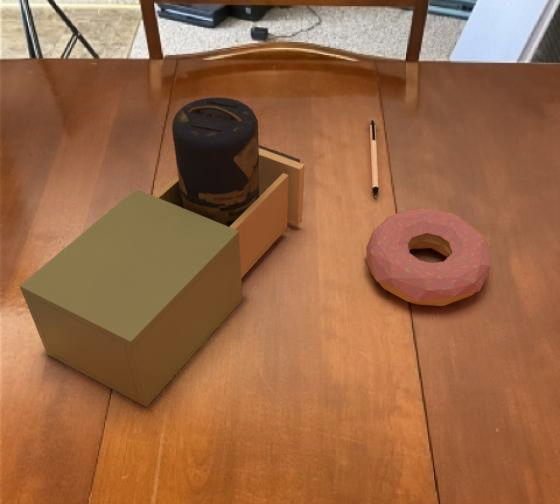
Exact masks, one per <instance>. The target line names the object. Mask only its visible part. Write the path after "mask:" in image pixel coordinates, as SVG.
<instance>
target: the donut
mask: <svg viewBox="0 0 560 504" xmlns="http://www.w3.org/2000/svg"><path fill="white" fill-rule="evenodd" d="M490 247H491V246H489V244H488V242H487V241H486V239H485V237H484V236H483V234H482V233H481V231H479V230H478V229H477V228H475V227H474V226H472V225H471V224H469V223H468V222H467V221H466V220H464V219H462V218H461V217H460V216H458V215H457V214H456V213H452V212H445V211H440V210H436V209H428V208H417V209H410V210H405V211H399V212H398V213H395V214H392V215H391V216H388V217H386V218H385V219H384V220H383V221H382V222H381V223H380V224H378V226H376V227H375V228H374V229H373V230H372V233H371V235H370V237H369V240H368V242H367V244H366V247H365V251H366V261H367V265H368V268H369V271H370V274H371V275H372V276H373V278H374V279H375V282H377V283H378V284H379V285H380V286H381V287H382V288H383V289H384V290H385V291H387V292H389V293H391V294H393V296H396V297H398V298H400V299H402V300H404V302H405V301H406V302H408V303H411V304H414V305H417V306H419V305H420V306H438V307H444V306H447V305H451V304H452V303H456V302H457V301H461V300H463V299H466V298H469V297H471V296H473V295H474V294H475V293H477V292H480V291H481V289H482V288H483V285H484V284H485V281H486V279H487V277H488V275H489V274H490V270H491V261H490V260H491V259H490V256H491V255H490V250H491V249H490ZM422 249H432V250H434V251H436V252H437V253H439V254H440V255H442V256H444V257H446V258H445V260H443V261H438V262H428V261H423V260H420V259H419V258H417V257H416V256H415V255H414V254H412V253H411V252H410V251H411V250H422Z"/></svg>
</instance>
